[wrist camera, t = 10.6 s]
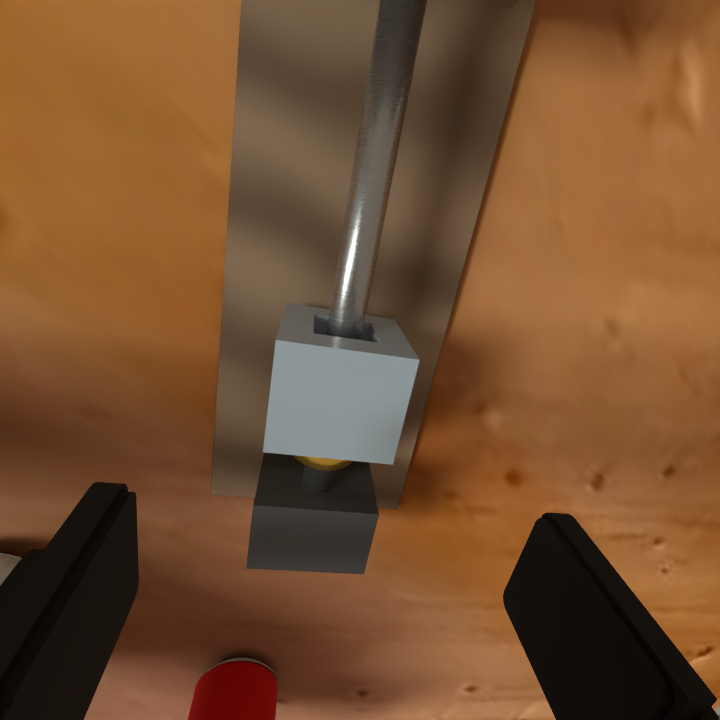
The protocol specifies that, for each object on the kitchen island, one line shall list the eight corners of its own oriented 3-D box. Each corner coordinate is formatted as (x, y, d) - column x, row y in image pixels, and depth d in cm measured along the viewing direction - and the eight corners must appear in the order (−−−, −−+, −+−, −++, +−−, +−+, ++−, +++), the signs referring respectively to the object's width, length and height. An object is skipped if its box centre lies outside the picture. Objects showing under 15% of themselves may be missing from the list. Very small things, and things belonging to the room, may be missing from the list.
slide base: (259, -250, 14) (210, -627, 8) (570, -137, 16) (742, -362, 9) (212, 490, 25) (176, 591, 19) (396, 504, 27) (420, 600, 21)
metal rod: (366, -86, 14) (380, -158, 11) (453, -58, 15) (487, -122, 12) (282, 503, 23) (277, 548, 20) (337, 507, 24) (339, 551, 21)
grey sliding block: (286, 302, 20) (275, 340, 15) (394, 319, 21) (419, 360, 16) (275, 391, 22) (262, 452, 17) (375, 403, 23) (392, 464, 18)
